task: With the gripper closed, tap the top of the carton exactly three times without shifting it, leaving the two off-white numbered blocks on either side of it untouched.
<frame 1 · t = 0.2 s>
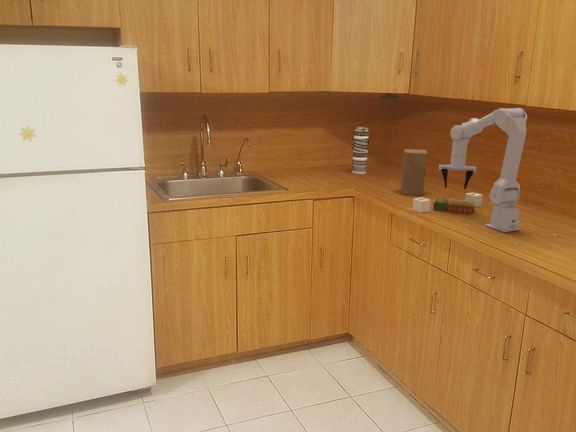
hand: (455, 187, 223), 10 cm above the countertop, tool pointing down, fingers open, 7 cm apart
carton: (453, 211, 227), on the countertop
wooden block: (411, 193, 256), on the countertop
decorative candle: (359, 172, 303), on the countertop
number block 1: (420, 210, 224), on the countertop
number block 7: (472, 205, 236), on the countertop
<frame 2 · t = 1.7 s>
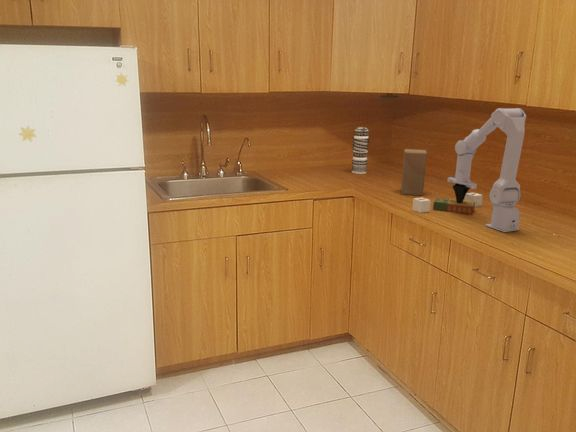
hand: (459, 202, 223), 4 cm above the countertop, tool pointing down, fingers closed
nothing on the countertop moved.
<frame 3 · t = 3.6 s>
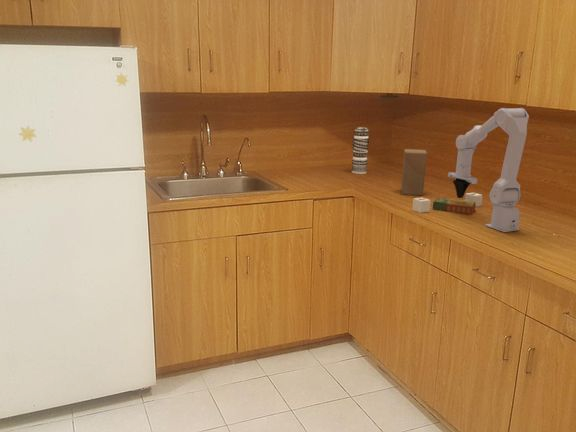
hand: (460, 197, 223), 6 cm above the countertop, tool pointing down, fingers closed
nothing on the countertop moved.
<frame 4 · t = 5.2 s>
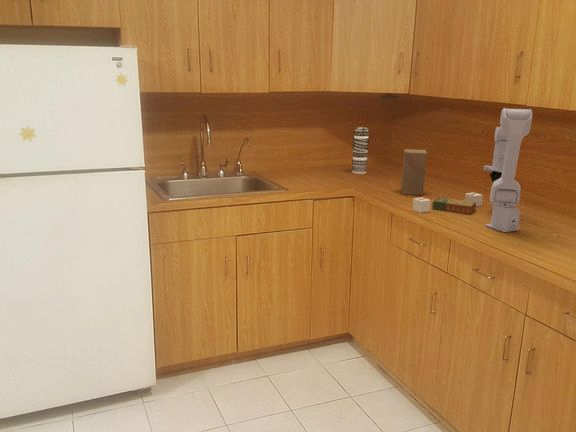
hand: (496, 190, 221), 9 cm above the countertop, tool pointing down, fingers closed
nothing on the countertop moved.
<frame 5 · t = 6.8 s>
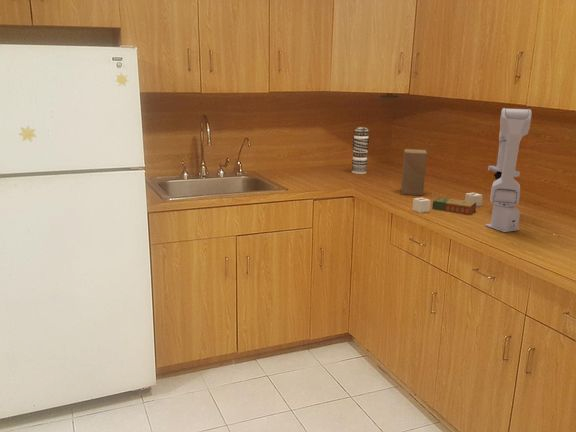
hand: (500, 190, 221), 9 cm above the countertop, tool pointing down, fingers closed
nothing on the countertop moved.
at the end: carton moved 0.6 cm from its start; number block 1 moved 0.1 cm from its start; number block 7 moved 0.1 cm from its start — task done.
